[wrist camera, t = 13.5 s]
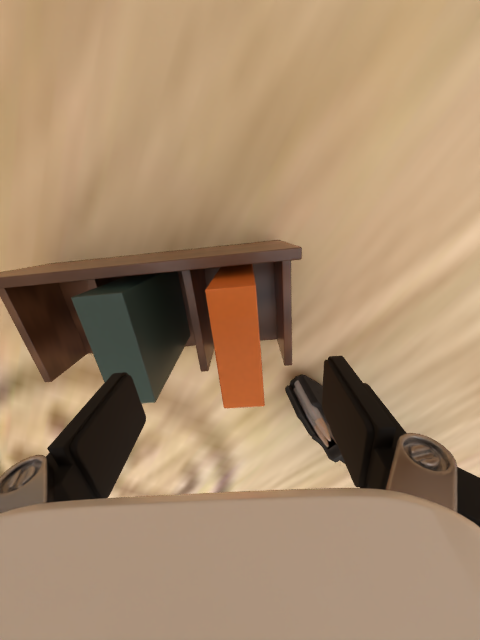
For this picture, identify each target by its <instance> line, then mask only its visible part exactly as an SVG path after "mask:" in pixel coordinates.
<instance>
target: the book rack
mask: <svg viewBox="0 0 480 640" xmlns="http://www.w3.org/2000/svg"><path fill="white" fill-rule="evenodd" d="M301 258H302V248H301V247H299V246H295V245H292V244H289V243H286V242H283V241H280V240H274V241H265V242H255V243H245V244H235V245H226V246H216V247H206V248H197V249H187V250H177V251H167V252H158V253H148V254H138V255H128V256H119V257H109V258H99V259H90V260H80V261H70V262H60V263H51V264H45V265H39V266H33V267H27V268H22V269H16V270H10V271H4V272H0V297H1V299H2V301H3V303H4V304H5V306H6V308H7V310H8V312H9V314H10V316H11V318H12V320H13V322H14V324H15V326H16V328H17V329H18V331H19V333H20V335H21V337H22V339H23V341H24V343H25V345H26V347H27V349H28V351H29V353H30V354H31V356H32V358H33V360H34V362H35V364H36V366H37V368H38V370H39V372H40V374H41V376H42V377H43V379H44V381H45V382H52V381H53V380H54V379H56V378H57V377H58V376H59V375H61V374H62V373H63V372H64V371H66V370H67V369H68V368H70V367H71V366H72V365H73V364H75V363H76V362H77V361H79V360H80V359H81V358H82V357H84V356H85V355H86V354H88V353H93V352H92V349H91V347H90V344H89V342H88V339H87V337H86V334H85V332H84V329H83V327H82V324H81V322H80V319H79V317H78V314H77V312H76V309H75V307H74V304H73V302H72V299H71V297H73V296H76V295H79V294H81V293H84V292H86V291H89V290H91V289H94V288H97V287H99V286H102V285H104V284H107V283H109V282H112V281H115V280H117V279H120V278H122V277H125V276H134V275H145V274H155V273H165V272H176V271H177V272H178V277H179V282H180V287H181V292H182V297H183V301H184V306H185V311H186V316H187V321H188V326H189V331H190V337H189V339H188V341H187V343H186V345H185V346H194V345H196V348H197V353H198V358H199V364H200V369H201V371H208V370H209V366H210V363H211V359H212V355H213V351H214V343H213V336H212V330H211V324H210V318H209V312H208V305H207V299H206V293H205V290H206V288H207V287H208V285H209V284H210V282H211V281H212V279H213V278H214V276H215V275H216V273H217V272H218V270H219V269H220V267H227V266H237V265H248V264H252V266H253V272H254V278H255V283H256V294H257V307H258V321H259V335H260V340H273V339H277V340H278V344H279V347H280V351H281V355H282V358H283V362H284V365H285V366H286V365H292V316H291V260H299V259H301Z"/></svg>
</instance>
